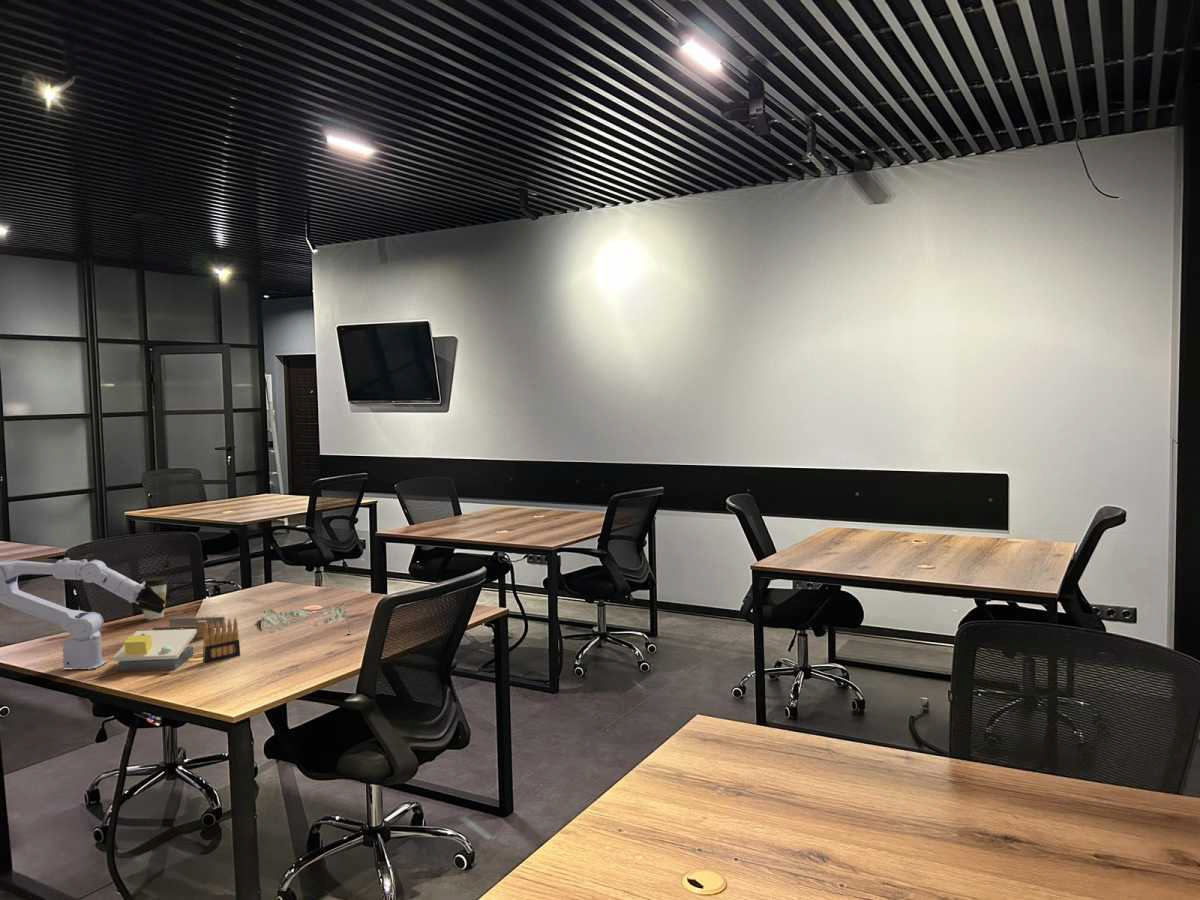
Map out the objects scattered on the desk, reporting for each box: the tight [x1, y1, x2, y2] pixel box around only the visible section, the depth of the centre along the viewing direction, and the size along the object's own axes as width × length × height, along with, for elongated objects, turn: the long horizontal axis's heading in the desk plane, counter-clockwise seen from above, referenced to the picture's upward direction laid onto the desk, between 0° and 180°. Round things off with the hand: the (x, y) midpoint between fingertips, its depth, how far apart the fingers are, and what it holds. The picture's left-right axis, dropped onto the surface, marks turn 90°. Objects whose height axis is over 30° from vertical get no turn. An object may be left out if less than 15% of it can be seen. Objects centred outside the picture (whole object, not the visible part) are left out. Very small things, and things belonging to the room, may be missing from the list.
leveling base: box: [117, 646, 194, 672], centre depth 252 cm, size 16×14×5 cm
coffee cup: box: [138, 576, 169, 620], centre depth 310 cm, size 10×10×15 cm
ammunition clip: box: [202, 617, 241, 664], centre depth 257 cm, size 11×2×12 cm, turn 136°
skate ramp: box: [152, 613, 226, 639], centre depth 283 cm, size 29×35×8 cm
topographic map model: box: [260, 601, 348, 633], centre depth 295 cm, size 36×29×5 cm
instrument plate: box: [112, 629, 197, 662], centre depth 251 cm, size 18×16×5 cm
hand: (163, 607), depth 254 cm, fingers open, 7 cm apart
